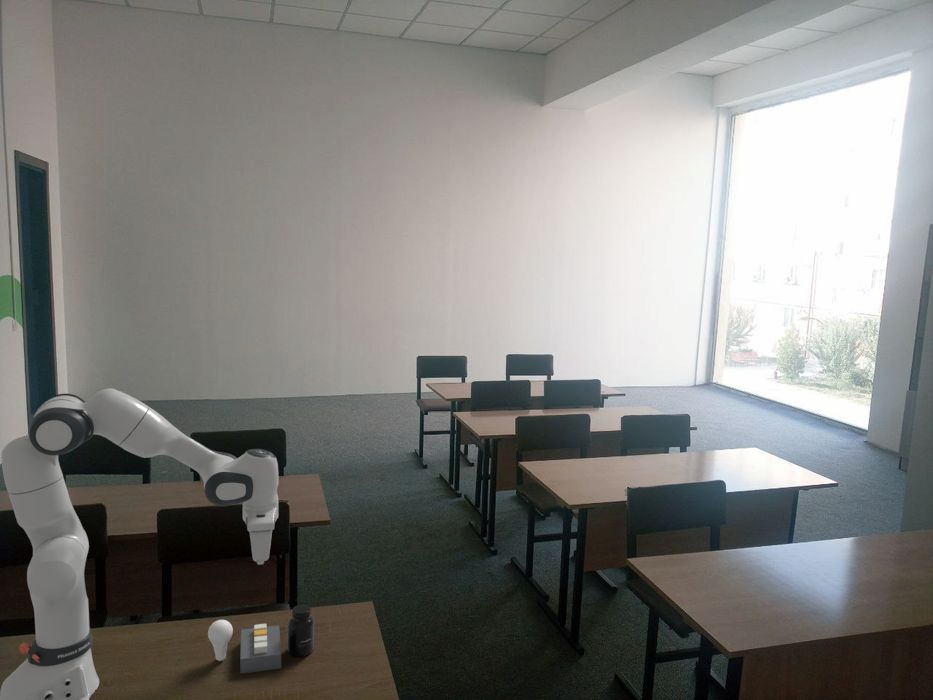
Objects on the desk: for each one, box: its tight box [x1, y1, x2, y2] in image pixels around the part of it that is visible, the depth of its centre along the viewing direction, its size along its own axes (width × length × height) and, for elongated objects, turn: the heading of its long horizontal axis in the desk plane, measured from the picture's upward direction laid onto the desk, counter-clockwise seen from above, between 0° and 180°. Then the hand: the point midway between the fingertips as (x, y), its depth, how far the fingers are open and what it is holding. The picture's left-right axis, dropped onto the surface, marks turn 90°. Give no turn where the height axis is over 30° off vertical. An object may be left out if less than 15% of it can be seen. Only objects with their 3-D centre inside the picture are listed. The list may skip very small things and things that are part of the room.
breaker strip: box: [239, 622, 282, 674], centre depth 189 cm, size 22×10×6 cm, turn 17°
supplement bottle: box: [287, 604, 315, 658], centre depth 188 cm, size 7×7×12 cm
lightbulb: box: [207, 619, 234, 662], centre depth 182 cm, size 6×6×11 cm
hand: (260, 562), depth 182 cm, fingers closed
